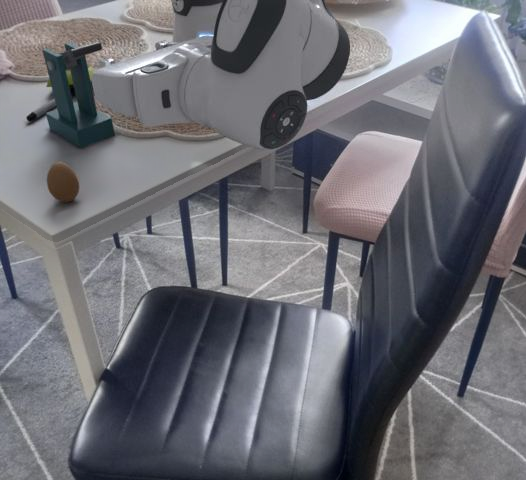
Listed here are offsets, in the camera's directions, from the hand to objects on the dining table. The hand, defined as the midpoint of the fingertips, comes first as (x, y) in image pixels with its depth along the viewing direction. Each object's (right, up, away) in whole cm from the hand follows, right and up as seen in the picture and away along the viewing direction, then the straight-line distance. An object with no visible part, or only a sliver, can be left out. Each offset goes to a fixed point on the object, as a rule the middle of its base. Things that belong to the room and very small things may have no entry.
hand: (132, 55), depth 83 cm
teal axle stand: (-14, -2, +22) cm, 27 cm away
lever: (-11, +4, +12) cm, 17 cm away
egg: (-11, -19, +7) cm, 23 cm away
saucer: (-20, +14, +34) cm, 42 cm away
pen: (-26, +1, +27) cm, 38 cm away
